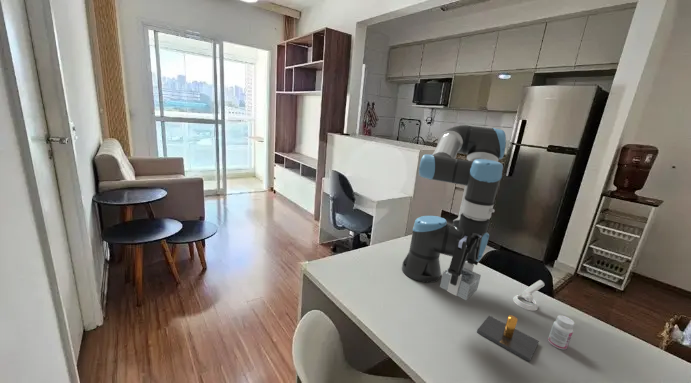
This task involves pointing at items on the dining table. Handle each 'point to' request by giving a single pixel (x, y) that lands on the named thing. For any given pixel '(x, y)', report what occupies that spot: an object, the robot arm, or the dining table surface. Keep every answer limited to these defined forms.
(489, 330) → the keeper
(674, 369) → the dining table surface
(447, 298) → the dining table surface
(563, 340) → the pill bottle
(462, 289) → the grey square socket block
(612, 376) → the dining table surface
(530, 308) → the vr controller
